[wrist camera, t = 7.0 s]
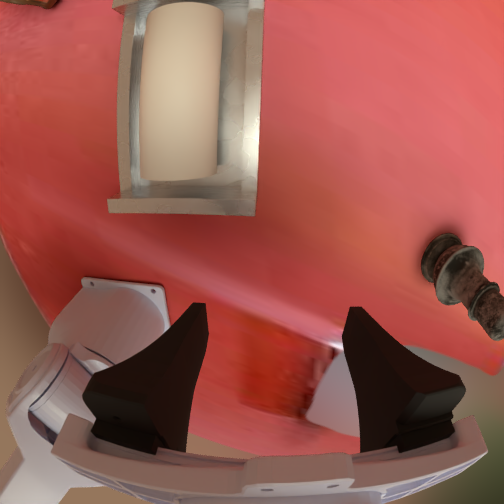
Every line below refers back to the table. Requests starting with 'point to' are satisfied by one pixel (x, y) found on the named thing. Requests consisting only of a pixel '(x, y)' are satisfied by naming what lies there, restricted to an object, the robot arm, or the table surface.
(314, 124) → the table surface
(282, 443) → the table surface
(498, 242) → the table surface
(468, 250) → the rusty metal finial
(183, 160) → the roll
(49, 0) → the tin
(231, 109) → the cradle
